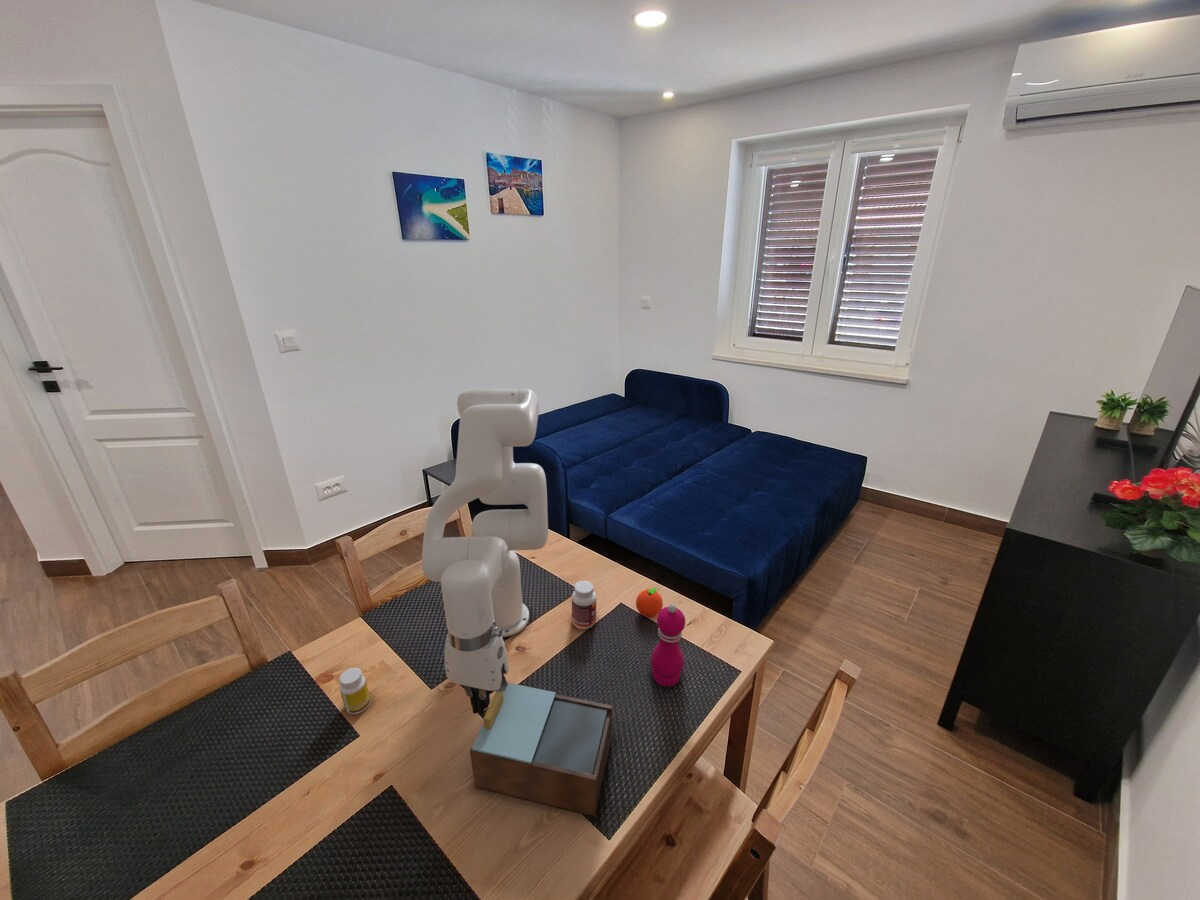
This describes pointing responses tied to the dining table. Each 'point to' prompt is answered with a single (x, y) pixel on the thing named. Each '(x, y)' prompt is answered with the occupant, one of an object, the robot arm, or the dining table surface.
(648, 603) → the clementine
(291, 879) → the dining table surface
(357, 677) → the supplement bottle
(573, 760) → the case
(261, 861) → the dining table surface
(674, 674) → the pepper mill
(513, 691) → the sliding box lid
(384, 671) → the dining table surface
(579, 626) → the pill bottle
